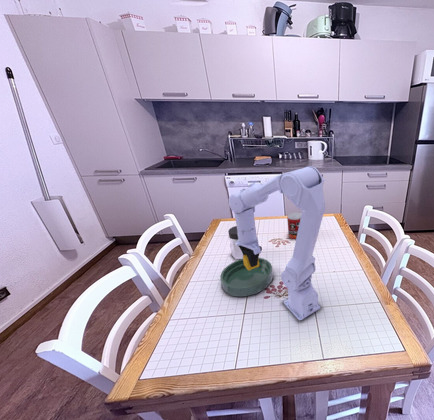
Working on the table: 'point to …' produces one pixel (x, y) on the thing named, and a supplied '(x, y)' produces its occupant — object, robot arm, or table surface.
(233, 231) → the jar
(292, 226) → the canned food
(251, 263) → the robot arm
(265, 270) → the bowl
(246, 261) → the yellow cube
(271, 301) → the table surface
